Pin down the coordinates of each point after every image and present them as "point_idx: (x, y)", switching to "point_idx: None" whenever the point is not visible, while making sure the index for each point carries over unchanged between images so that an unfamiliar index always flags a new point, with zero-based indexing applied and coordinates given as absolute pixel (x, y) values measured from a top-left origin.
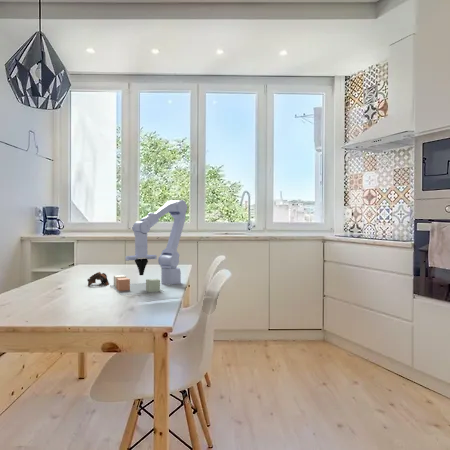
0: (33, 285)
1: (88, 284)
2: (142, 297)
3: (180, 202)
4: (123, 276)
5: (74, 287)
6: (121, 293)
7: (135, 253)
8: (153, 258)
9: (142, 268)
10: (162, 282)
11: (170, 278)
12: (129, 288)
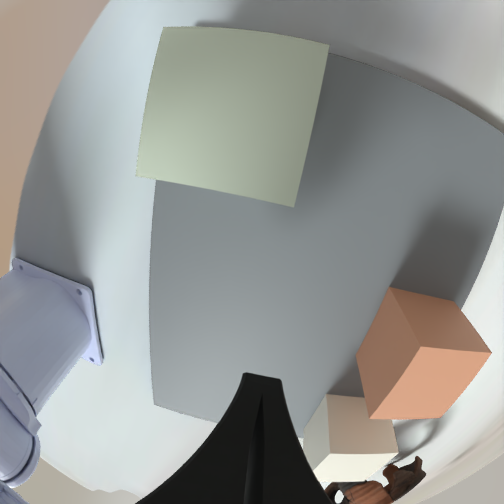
0: (449, 485)
1: (414, 462)
2: (408, 30)
3: None
4: (347, 456)
5: (431, 461)
6: (495, 201)
7: None
8: (10, 498)
9: (247, 450)
10: (80, 331)
11: (25, 302)
12: (395, 293)
